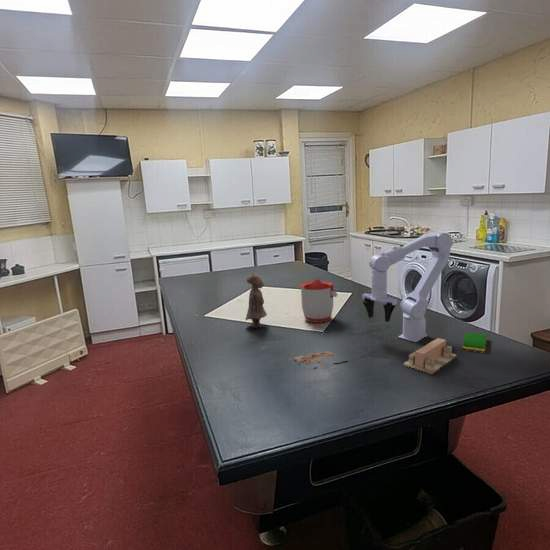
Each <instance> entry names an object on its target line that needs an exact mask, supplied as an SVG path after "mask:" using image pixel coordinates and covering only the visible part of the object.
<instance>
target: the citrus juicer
mask: <svg viewBox="0 0 550 550" xmlns="http://www.w3.org/2000/svg"><path fill="white" fill-rule="evenodd" d="M299 286H300V294H301V295H300V296H301V308H302V312H303V316H304V318H305V320H306V321H307V322H309V321H310V323H325V322H327V321H329V320H331V318H332V313H333V310H334V298H337V297H338V293H337V292H336V291H334V283H332V282H330V281H329V282H328V281H322V280H319V278H316V279H314V280H313V281H309V282H304V283H301V284H300V285H299Z"/></svg>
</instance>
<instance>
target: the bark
mask: <svg viewBox="0 0 550 550" xmlns="http://www.w3.org/2000/svg"><path fill="white" fill-rule="evenodd" d="M321 354H322V355H323V356H329V355H330V354H331V355H330V356H332V357H333V356H334V355H336V354H335V353H334V352H331V351H321V352H316V353H315V352H314V353H310V354H309V353H308V354H304V355H299V356H295V357H293V358H295V360H298V362H299V361H301V362H303V363H304V362H306V364H305V365H309V364H308V363H311V362H312V363H313V362H315V361H314V360H318V361H319V360H320V359H321V358H320V359H317V357H319V356H320V355H321ZM332 354H334V355H332ZM330 356H329V357H330ZM320 357H321V356H320ZM304 358H305V359H304ZM289 359H291V358H288V360H289ZM307 359H311V360H309V361H308V362H307ZM303 360H304V361H303ZM321 360H322V359H321ZM321 360H320V361H321ZM316 362H317V361H316ZM317 363H318V362H317Z"/></svg>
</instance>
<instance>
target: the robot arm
mask: <svg viewBox="0 0 550 550" xmlns="http://www.w3.org/2000/svg"><path fill="white" fill-rule="evenodd" d="M453 241H454V240H453V238H452V235H451V234H449V233H447V232H440V231H436V230H430V231H428V232H425V233H422V235H420V236H419V237H417V238H415V239H414V240H412V241H410V242H408V243H406V244H404V245H403V246H400V245H393V246H391V248H390V249H388V250H386V251H381V252H380V254H374V255H373V256H372V257H371V258H370V261H369V262H368V265H369V267H370V268H371V293H366V292H365V293H362V295H361V297H362V298H361V299H362V300H363V301H362V304H363V305H364V308H365V309H366V312H367V316H368V319H369V318H370V319H371V318H373V317H374V306H375V302H378V303H383V306H382V307H383V310H384V322H385V323H388V322H390V321H391V316H392V314H393V311H394V309H395V308H396V306H397V305H398V299H397V298H393V297H391V296H387V295H388V293H387V292H388V291H387V290H388V289H387V288H388V285H387V284H388V270H389V269H390V267H391V266H393V265H395V264H397V263H398V262H401V261H403V260H405V258H406V256H407V255H408V254H410V253H413V252H416V251H419V250H420V249H423V248H424V247H426V248H428V249H429V251H430V253H431V255H432V258H431V260H430V262H429V264H428V265H427V267H426V269H425V271H424V272H423V274H422V276H421V278H420V280H419V281H418V283H417V284H416V287H414V290H413V291H412V292H409V293H408V294H407V295H406V297H404V299H402V300H401V302H400V304H399V308H400V310H401V311H402V334H400V335H398V338H400V339H403V340H405V341H409V342H413V343H417V342H420V341H421V340H422V338H423V339H425V338H427V337H428V336H427V335H428V333H427V334H426V328H427V327H426V326H427V321H426V317H425V314H426V311H427V307H428V305H429V302H428V296H429V294H430V292H431V291H432V288H434V286H435V284H436V282H437V280H439V279H438V278H439V276H441V273H442V271H443V270H444V268H445V267H446V265H447V263H448V262H449V259H450V254H451V249H452V247H453V246H454V242H453ZM424 337H425V338H424Z"/></svg>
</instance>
